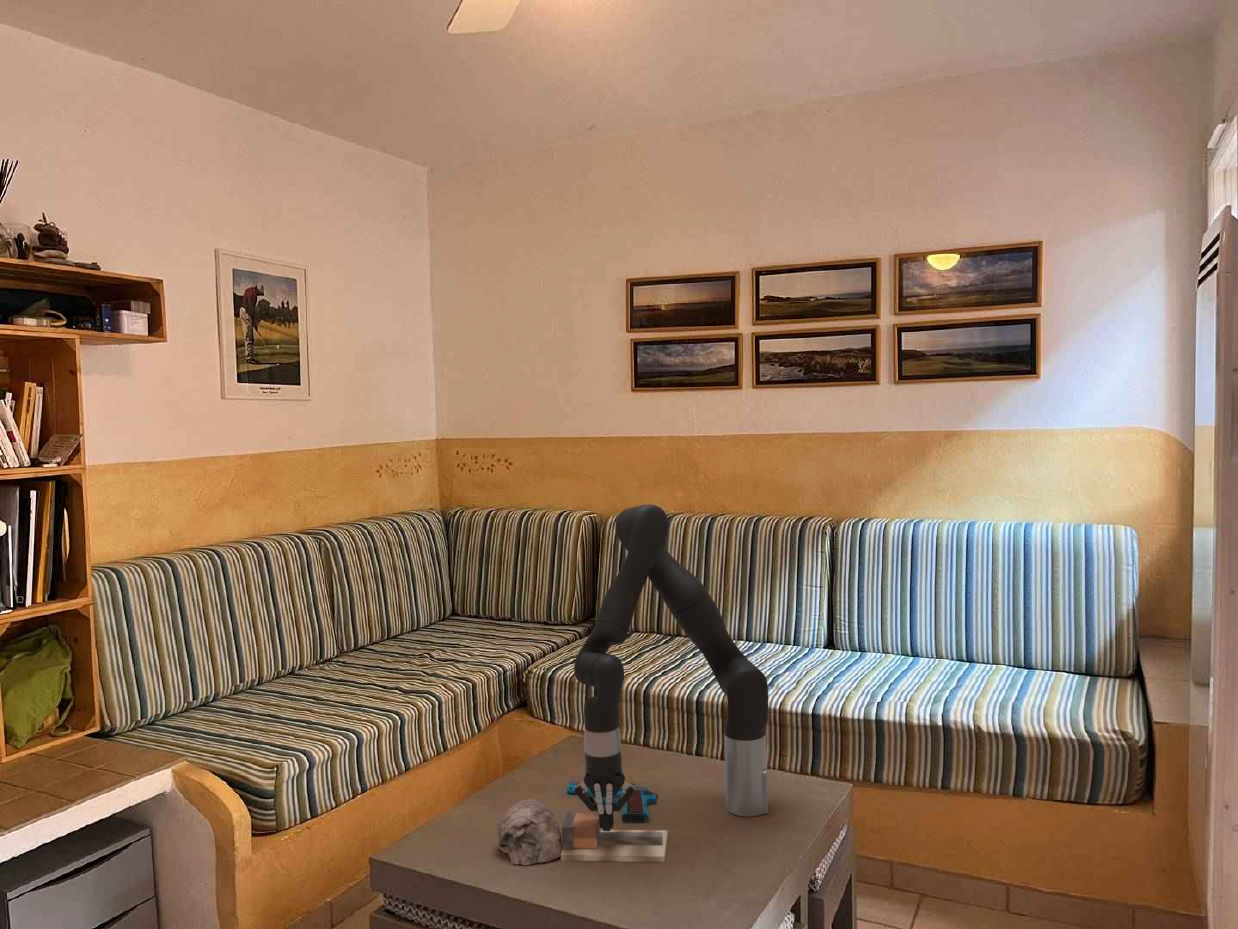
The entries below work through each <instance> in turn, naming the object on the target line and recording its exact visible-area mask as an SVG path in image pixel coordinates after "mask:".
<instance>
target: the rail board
mask: <svg viewBox="0 0 1238 929" xmlns="http://www.w3.org/2000/svg"><path fill="white" fill-rule="evenodd" d="M576 813H578V812H577V811H567V813H566V815H565V818H564V820H563V823H562V825H561V838H562V842H563V850H562V853H561V856H560V861H563V862H565V861H569V862H571V861H573V862H575V861H576V862H620V863H621V862H624V863H627V862H629V863H630V862H631V863H632V862H633V863H665V860H666V854H667V853H666V852H667V844H668V838H669V836H668V833H669V832H668V830H663V829H662V830H659V829H657V830H655V829H653V830H651V829H650V830H649V829H646V830H645V829H610V831H603V829H601V832H598V847H597V848H573V839H572V824H573V822H574V819H575V816H576Z"/></svg>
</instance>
